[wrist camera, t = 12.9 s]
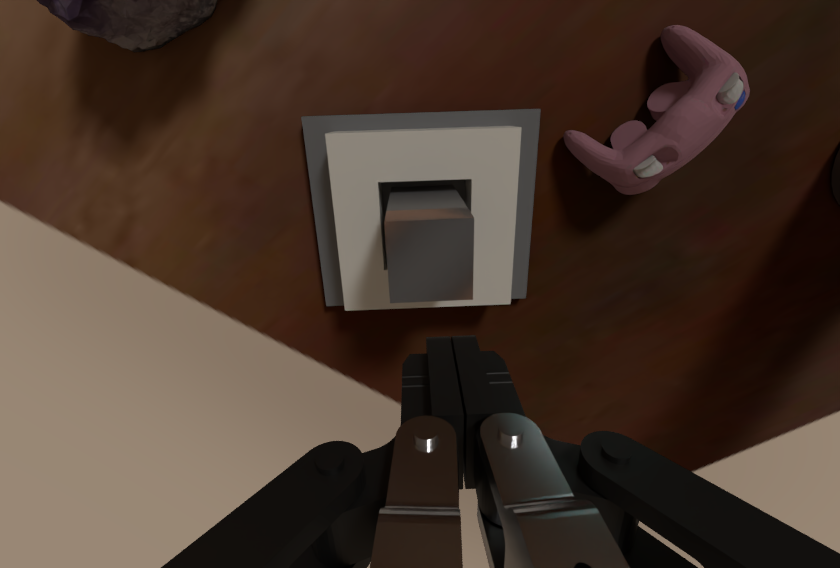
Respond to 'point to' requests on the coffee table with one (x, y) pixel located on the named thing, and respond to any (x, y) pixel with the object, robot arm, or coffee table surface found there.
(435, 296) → the plug
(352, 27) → the coffee table surface
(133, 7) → the geode
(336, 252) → the socket
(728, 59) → the video game controller
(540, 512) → the robot arm
